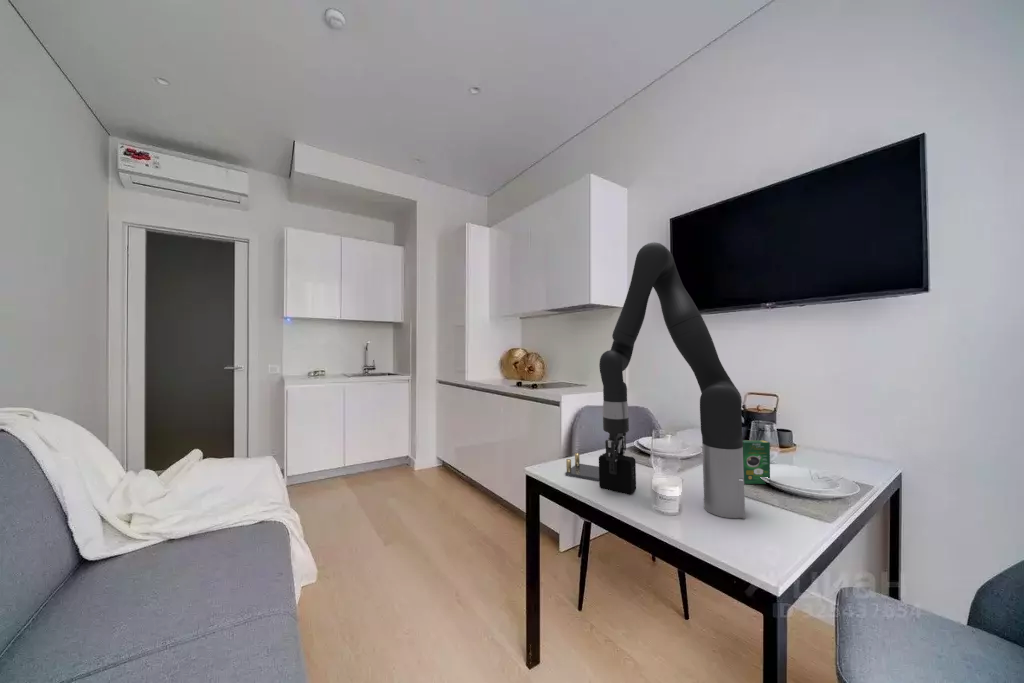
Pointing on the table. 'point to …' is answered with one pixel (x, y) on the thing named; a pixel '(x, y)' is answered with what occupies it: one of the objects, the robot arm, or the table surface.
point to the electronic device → (618, 474)
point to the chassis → (582, 470)
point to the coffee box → (756, 461)
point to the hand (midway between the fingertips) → (616, 469)
